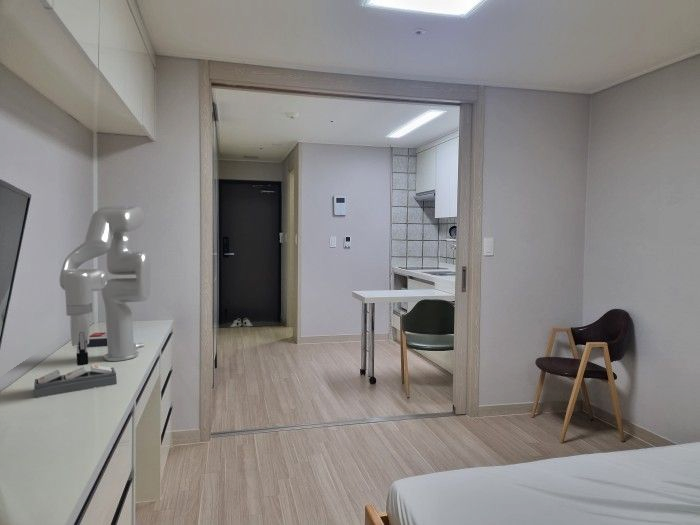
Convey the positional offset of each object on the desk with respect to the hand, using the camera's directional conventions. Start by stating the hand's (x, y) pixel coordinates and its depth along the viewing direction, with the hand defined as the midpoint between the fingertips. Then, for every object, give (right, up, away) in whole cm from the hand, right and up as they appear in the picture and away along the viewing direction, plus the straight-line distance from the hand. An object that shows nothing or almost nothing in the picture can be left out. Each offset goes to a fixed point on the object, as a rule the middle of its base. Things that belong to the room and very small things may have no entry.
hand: (82, 364), depth 162 cm
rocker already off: (+5, -2, +3) cm, 6 cm away
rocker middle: (-2, -3, -1) cm, 3 cm away
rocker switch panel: (-2, -7, 0) cm, 8 cm away
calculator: (-23, -3, +59) cm, 64 cm away
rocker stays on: (-8, -3, -5) cm, 10 cm away
